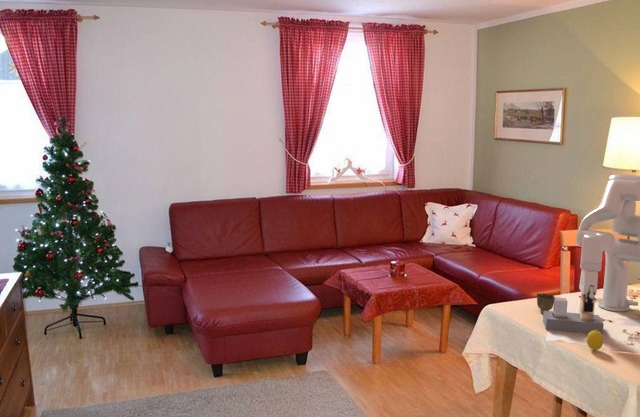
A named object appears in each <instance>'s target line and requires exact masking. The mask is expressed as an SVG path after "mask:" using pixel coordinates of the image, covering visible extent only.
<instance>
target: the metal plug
mask: <svg viewBox="0 0 640 417" xmlns="http://www.w3.org/2000/svg"><path fill="white" fill-rule="evenodd" d="M552 311H553V317H554V318H565V319H566V315H567V313H568V312H567V311H568V300H567V297H558V296H554V304H553V307H552Z"/></svg>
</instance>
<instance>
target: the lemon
mask: <svg viewBox="0 0 640 417" xmlns="http://www.w3.org/2000/svg"><path fill="white" fill-rule="evenodd" d="M586 344H587V346H588V347H589V348H590V349H591V350H592V351H593V352H594V351H596V350H599V349H601V348H603V345H604V336H603V335H602V334H601V333H600V332H599V331H597V330H594V331H591V332H589V334H587V336H586Z"/></svg>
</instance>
